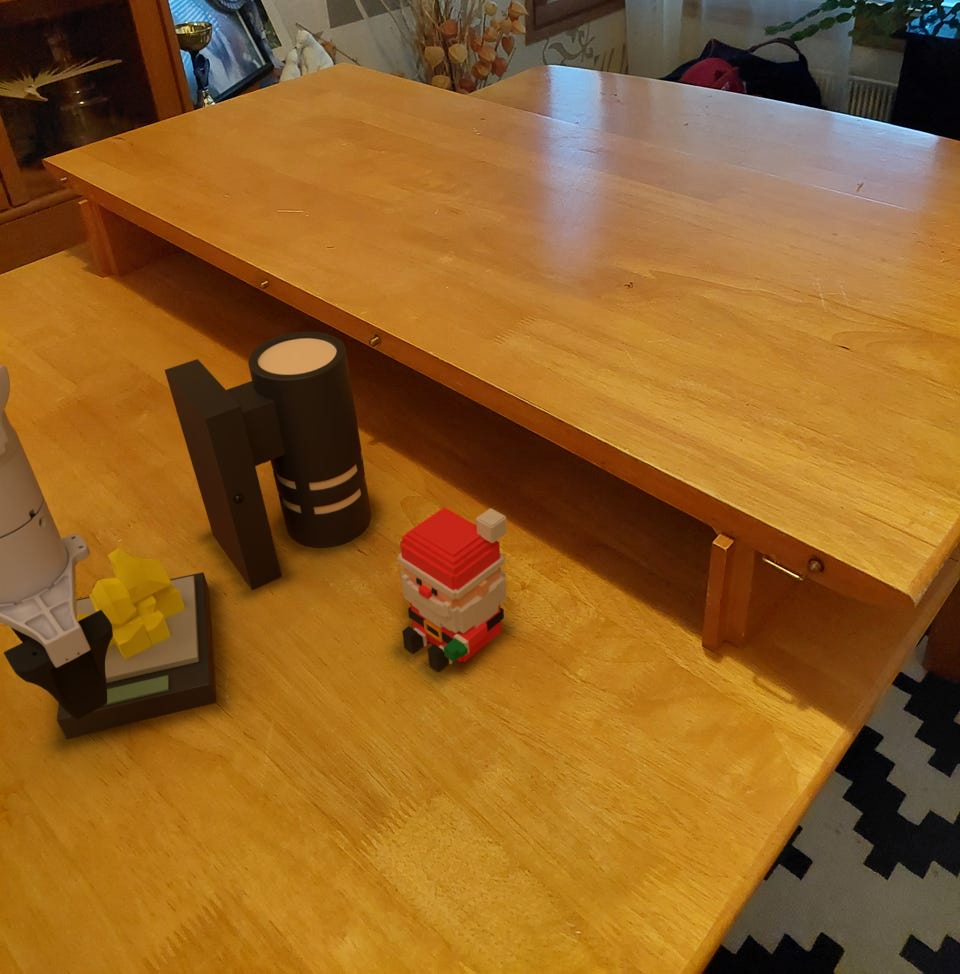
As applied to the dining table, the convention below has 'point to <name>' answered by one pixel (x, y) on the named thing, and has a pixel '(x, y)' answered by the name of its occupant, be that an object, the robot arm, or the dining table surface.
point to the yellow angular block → (136, 602)
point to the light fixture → (276, 449)
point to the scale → (156, 668)
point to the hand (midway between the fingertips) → (67, 674)
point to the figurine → (453, 584)
